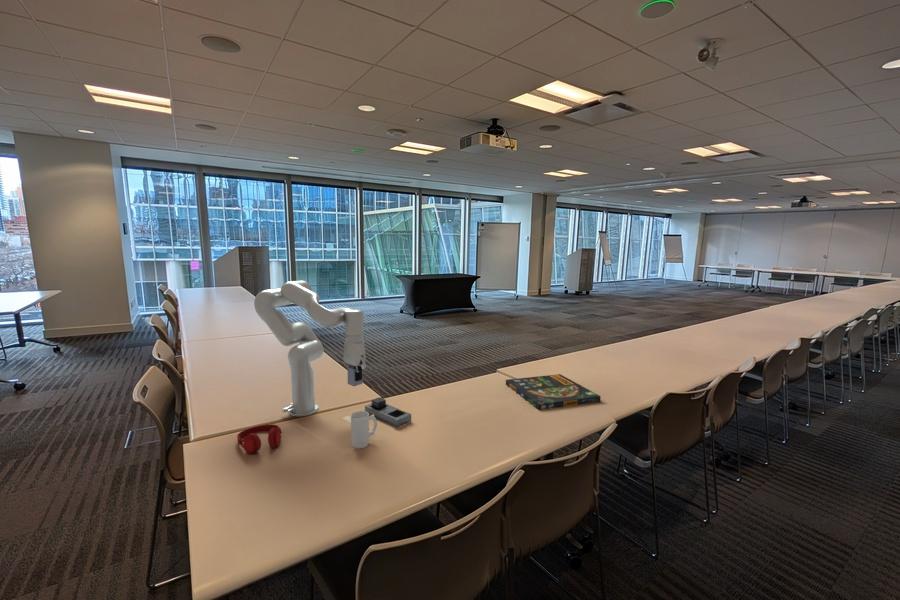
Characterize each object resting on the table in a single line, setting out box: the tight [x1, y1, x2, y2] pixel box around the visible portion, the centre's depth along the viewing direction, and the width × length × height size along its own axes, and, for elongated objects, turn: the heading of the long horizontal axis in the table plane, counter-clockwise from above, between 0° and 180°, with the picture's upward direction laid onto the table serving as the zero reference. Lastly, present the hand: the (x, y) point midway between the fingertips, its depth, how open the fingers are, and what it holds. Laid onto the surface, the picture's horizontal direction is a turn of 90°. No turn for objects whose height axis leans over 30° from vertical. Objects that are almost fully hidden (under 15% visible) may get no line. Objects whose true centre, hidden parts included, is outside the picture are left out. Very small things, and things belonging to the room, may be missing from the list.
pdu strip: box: [364, 397, 412, 429], centre depth 168 cm, size 8×22×6 cm, turn 50°
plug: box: [347, 364, 363, 387], centre depth 164 cm, size 4×4×9 cm
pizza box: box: [505, 373, 601, 411], centre depth 200 cm, size 35×35×4 cm
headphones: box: [236, 424, 283, 454], centre depth 146 cm, size 15×7×20 cm
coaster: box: [340, 414, 351, 425], centre depth 167 cm, size 10×10×1 cm
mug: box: [350, 410, 378, 450], centre depth 145 cm, size 10×7×12 cm, turn 119°
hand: (355, 378), depth 165 cm, fingers closed on plug, 4 cm apart
